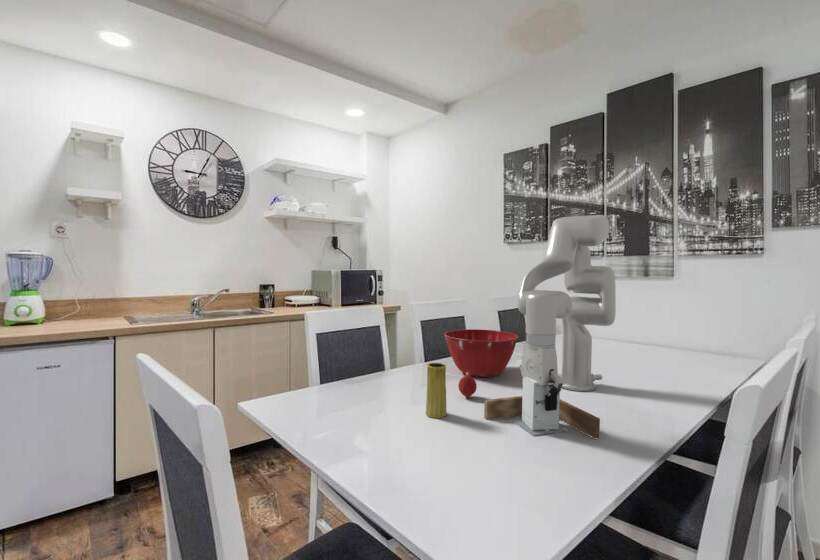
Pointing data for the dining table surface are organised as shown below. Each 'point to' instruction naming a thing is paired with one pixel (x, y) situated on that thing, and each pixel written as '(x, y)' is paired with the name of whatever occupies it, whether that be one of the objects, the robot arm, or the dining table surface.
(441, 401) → the vase
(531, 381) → the supplement box
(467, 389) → the red oval fruit
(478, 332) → the mixing bowl
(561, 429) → the pad
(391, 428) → the dining table surface
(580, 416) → the corner arena
